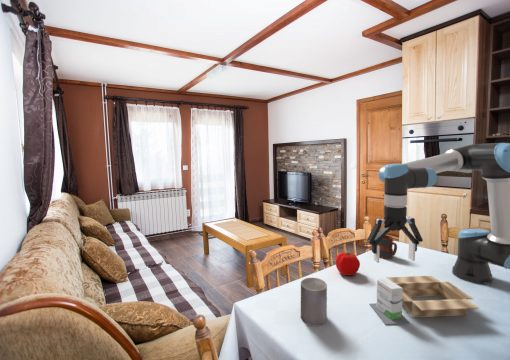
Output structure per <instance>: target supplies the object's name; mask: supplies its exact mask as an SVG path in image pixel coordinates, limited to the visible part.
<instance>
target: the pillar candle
mask: <svg viewBox="0 0 510 360" xmlns="http://www.w3.org/2000/svg"><path fill="white" fill-rule="evenodd" d="M327 295H328V284H327V283H326V281H325V280H323V279H321V278H317V277H306V278H304V279H302V280H301V282H300V318H301V320H302V322H304V323H305V324H307V325H309V326H315V327H316V326H322V325H323V324H325V323H326V322H327V319H328V318H327V315H328V314H327V313H328V311H327V309H328V308H327V307H328V304H327V303H328V302H327V301H328V296H327Z"/></svg>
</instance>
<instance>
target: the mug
mask: <svg viewBox="0 0 510 360" xmlns="http://www.w3.org/2000/svg"><path fill="white" fill-rule="evenodd" d="M393 240H394V238H393V237H392V235H391V236H390V235H389V234H388V235H387V234H386V235H385V236H384V238H383V239H382V240H381V241H380V242H379V244H378V245H379V259H380V258H381V259H384V258H385V260H389V259H392V258H393V257H394V256H395V255H396V254H397V249H398V245H397V243H396V242H394V241H393Z"/></svg>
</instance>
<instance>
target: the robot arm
mask: <svg viewBox="0 0 510 360" xmlns="http://www.w3.org/2000/svg"><path fill="white" fill-rule="evenodd" d="M463 170H464V171H476V172H477V171H478V172H480V175H481V178H482V179H483V180H485V181H486V186H487V187H486V189H487V198H488V209H489V211H488V212H489V221H490V230H491V231H489V230H487V229H484V228H483V229H481V228H463V229H461V230H459V233H458V237H457V239H458V241H457V242H458V243H457V245H458V246H457V259H456V260H455V262H454V265H453V266H452V270H451V272H452V274H453V275H454V276H455V277H456V278H458V279H461V280H464V281H467V282H471V283H474V284H475V283H476V284H490V283H492V282H493V274H492V270H491V268H490V265H489V263H491V264H493V265H497V266H498V267H502V268H504V269H506V270H507V269H508V270H510V143H509V142H497V143H496V142H494V143H493V142H492V143H476V144H475V143H474V144H473V143H472V144H469V145H464V146H461V147H457V148H453V149H450V150H449V149H448V150H446V151H445V152H444V153H441V154H438V155H434V156H430V157H426V158H422V159H417V160H413V161H409V162H405V163H388V164H386V165H384V166H381V168H380V169H379V170H378V178H379V180H380V181H381V182H382V183H383V184H384V188H383V190H384V192H383V193H384V195H383V198H384V200H383V201H384V203H383V204H384V206H383V218H382V219H381V218H378V217H377V218H375V221H374V225H373V227H372V229H371V230H370V232H369V235H368V237H367V239H366V242H367V243H368V244H370V245H371V253H373V261H374V262H376V263H377V264H378V263H380V257H379V245H378V244H379V242H380V241H381V240H382V239H383V238H384V236H385V235H387V234H388V233H389V232H391V231H392V232H395V231H402V233H404V234H405V236H406V237H407V238H408V239H409V240H410V241H409V242H408V259H409V260H410V261H412V262H415V261H416V252H417V251H418V245H420V243H422V242H423V241H424V240H423V237H422V235H421V234H420V231H419V229H418V226H417V225H416V219H415V218H414V217H412V216H408V215H407V214H408V213H407V212H408V209H407V205H408V190H409V189H426V188H430V187H433V186H434V185H435V184H436V183H437V180H438V179H437V178H438V176H437V174H439V173H442V172H446V171H451V172H456V171H463ZM407 216H408V217H407ZM406 224H408V226H409V228H410V230H411V231H410V230H409V229H408V227H407V226H406ZM411 232H412V233H411Z"/></svg>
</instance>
